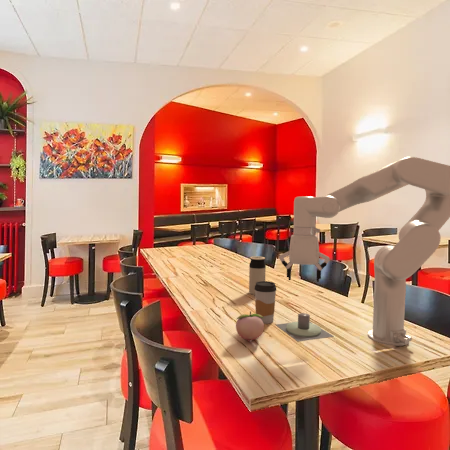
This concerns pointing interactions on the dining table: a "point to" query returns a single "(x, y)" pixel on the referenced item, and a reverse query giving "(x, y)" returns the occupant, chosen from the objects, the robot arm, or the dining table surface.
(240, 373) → the dining table surface
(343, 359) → the dining table surface
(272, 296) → the coffee cup
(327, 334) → the mat
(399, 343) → the robot arm
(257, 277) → the travel mug
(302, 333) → the lid
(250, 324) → the decorative fruit
